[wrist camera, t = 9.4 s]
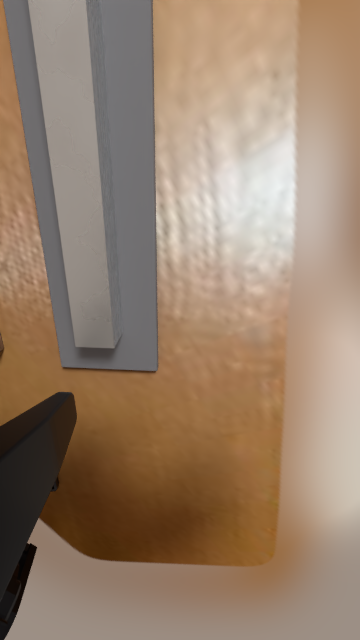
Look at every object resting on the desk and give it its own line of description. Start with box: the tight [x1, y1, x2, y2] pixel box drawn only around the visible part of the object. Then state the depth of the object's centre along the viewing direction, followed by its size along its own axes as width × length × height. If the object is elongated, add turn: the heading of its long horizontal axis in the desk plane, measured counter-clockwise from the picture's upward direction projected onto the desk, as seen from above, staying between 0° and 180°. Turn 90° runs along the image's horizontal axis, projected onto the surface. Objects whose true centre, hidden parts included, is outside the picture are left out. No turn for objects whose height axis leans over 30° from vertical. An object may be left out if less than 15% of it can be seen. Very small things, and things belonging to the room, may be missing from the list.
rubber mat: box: [3, 0, 158, 371], centre depth 17 cm, size 28×7×1 cm, turn 179°
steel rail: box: [28, 0, 123, 348], centre depth 15 cm, size 22×2×2 cm, turn 179°
